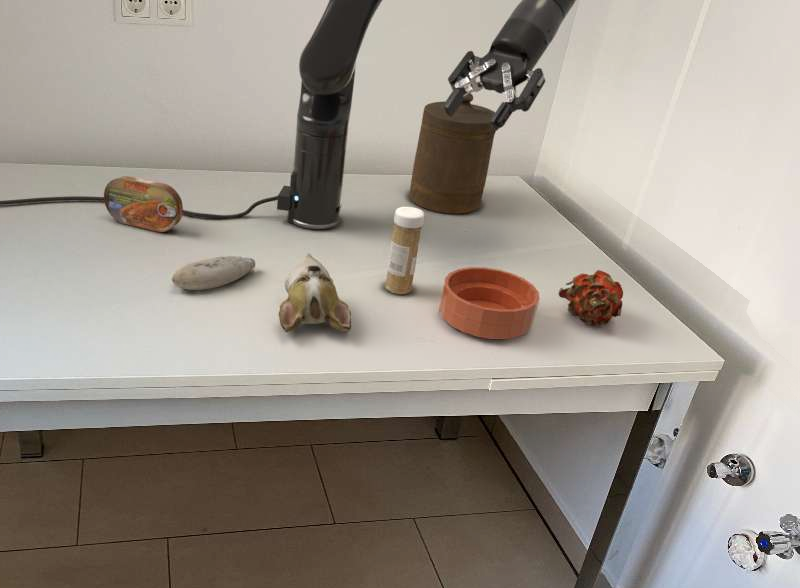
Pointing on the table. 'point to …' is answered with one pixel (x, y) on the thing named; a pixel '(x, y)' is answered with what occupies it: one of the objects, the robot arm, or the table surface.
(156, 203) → the tin
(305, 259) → the ceramic sculpture
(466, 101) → the wooden container
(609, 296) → the dragon fruit
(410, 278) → the sprinkles bottle
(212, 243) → the table surface
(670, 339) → the table surface
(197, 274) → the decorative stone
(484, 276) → the bowl
